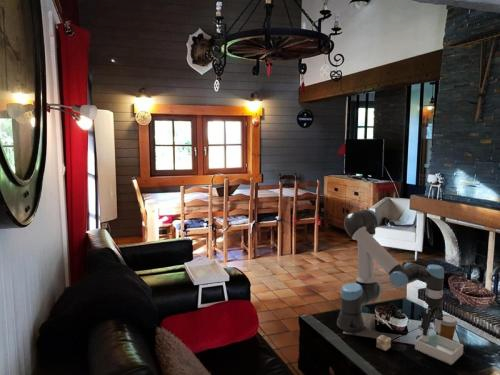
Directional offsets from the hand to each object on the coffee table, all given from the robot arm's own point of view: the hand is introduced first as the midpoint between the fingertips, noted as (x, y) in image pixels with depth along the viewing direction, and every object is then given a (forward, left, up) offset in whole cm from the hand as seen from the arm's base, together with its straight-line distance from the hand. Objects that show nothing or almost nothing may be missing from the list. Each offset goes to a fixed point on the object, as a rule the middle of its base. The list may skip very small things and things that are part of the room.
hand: (431, 336), depth 195 cm
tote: (+4, 0, -7) cm, 8 cm away
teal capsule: (0, 0, -6) cm, 6 cm away
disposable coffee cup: (+1, +14, -7) cm, 16 cm away
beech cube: (-17, -16, -7) cm, 24 cm away
